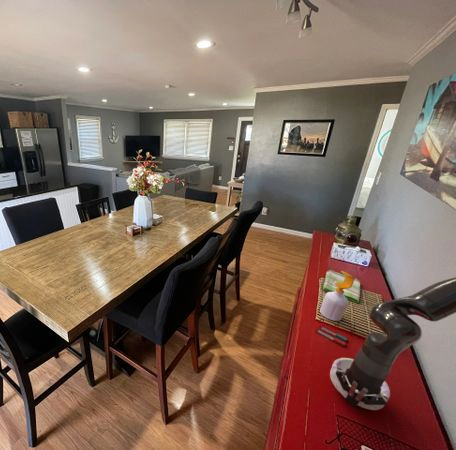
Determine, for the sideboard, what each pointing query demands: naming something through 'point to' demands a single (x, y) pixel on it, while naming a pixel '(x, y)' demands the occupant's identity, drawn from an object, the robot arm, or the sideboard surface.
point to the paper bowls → (345, 364)
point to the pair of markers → (332, 338)
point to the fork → (335, 334)
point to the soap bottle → (336, 300)
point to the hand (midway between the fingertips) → (350, 403)
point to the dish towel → (336, 277)
